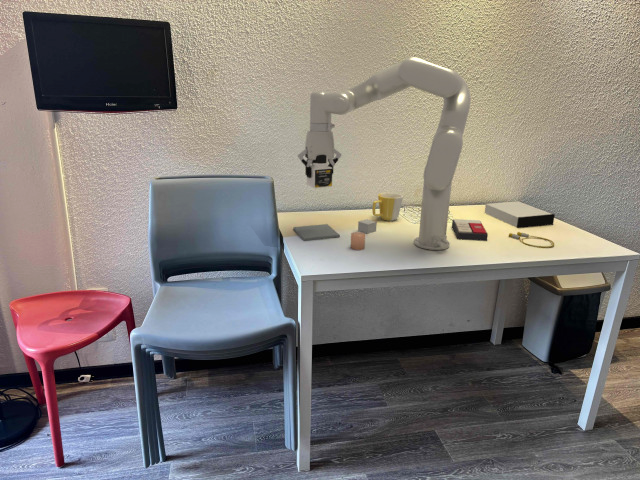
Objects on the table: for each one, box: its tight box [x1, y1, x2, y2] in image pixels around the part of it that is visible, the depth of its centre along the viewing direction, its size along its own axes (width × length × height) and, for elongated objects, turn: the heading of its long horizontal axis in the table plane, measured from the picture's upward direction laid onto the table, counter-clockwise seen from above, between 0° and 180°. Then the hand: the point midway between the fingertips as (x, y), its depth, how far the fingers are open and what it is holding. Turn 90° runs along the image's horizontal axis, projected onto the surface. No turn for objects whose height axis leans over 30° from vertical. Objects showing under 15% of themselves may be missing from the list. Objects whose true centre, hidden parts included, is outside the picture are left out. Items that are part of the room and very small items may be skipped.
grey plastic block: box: [357, 218, 378, 235], centre depth 192 cm, size 5×5×4 cm
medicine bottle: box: [306, 155, 333, 189], centre depth 180 cm, size 7×7×12 cm
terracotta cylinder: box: [350, 231, 366, 251], centre depth 174 cm, size 5×5×5 cm
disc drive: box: [484, 200, 556, 229], centre depth 211 cm, size 18×22×5 cm
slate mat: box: [292, 223, 341, 242], centre depth 188 cm, size 14×14×1 cm
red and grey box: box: [451, 218, 489, 242], centre depth 191 cm, size 11×4×15 cm
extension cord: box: [508, 231, 555, 249], centre depth 184 cm, size 12×16×2 cm
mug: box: [372, 191, 404, 222], centre depth 206 cm, size 14×10×10 cm
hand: (319, 176), depth 181 cm, fingers closed on medicine bottle, 7 cm apart
